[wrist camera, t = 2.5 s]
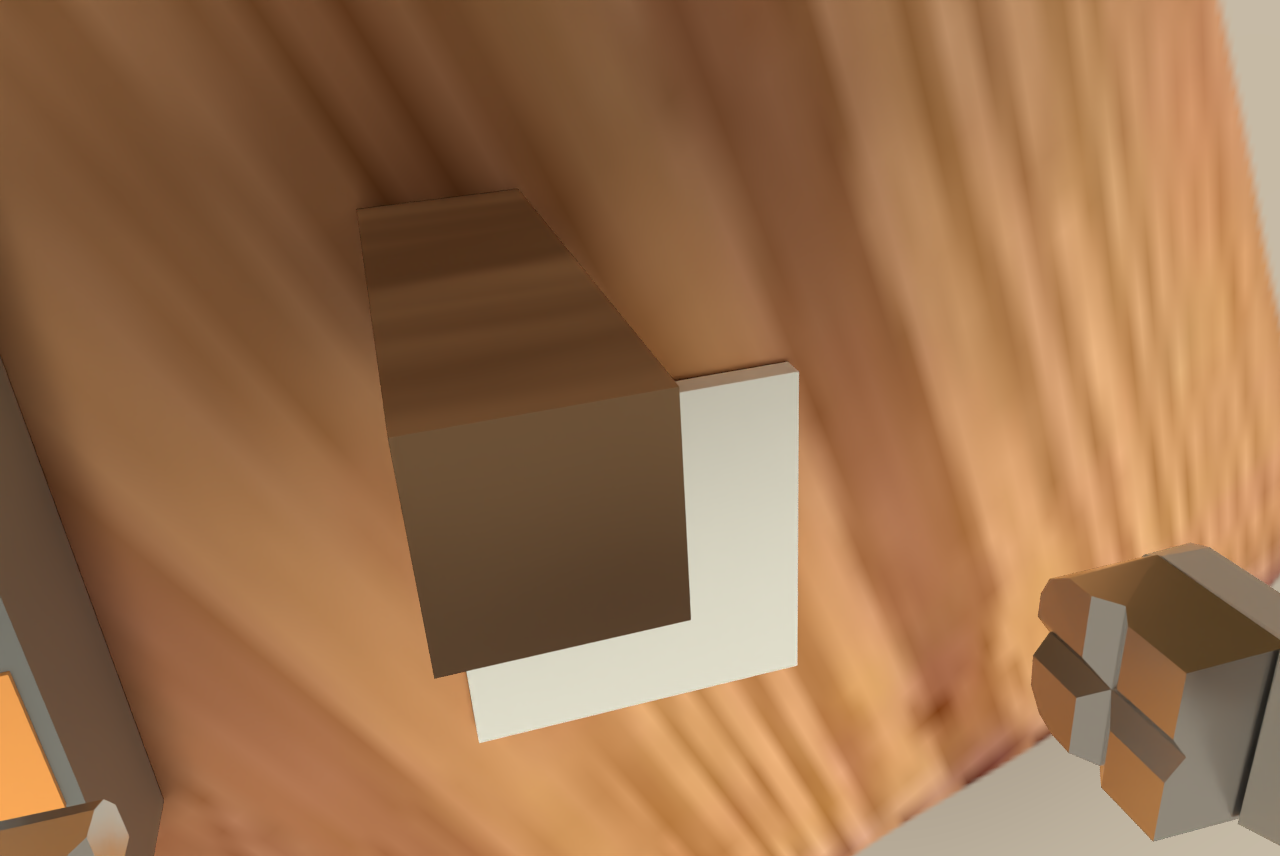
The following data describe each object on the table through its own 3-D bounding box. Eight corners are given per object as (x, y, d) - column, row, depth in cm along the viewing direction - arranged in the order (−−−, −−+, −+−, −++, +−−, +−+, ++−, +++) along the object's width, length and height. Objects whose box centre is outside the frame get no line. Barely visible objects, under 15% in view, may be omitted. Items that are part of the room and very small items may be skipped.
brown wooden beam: (356, 209, 19) (387, 438, 10) (518, 188, 19) (679, 386, 11) (385, 360, 20) (434, 678, 11) (535, 337, 21) (691, 619, 12)
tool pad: (422, 425, 21) (425, 437, 20) (787, 361, 23) (798, 371, 22) (475, 726, 24) (479, 743, 24) (787, 650, 26) (797, 665, 26)
